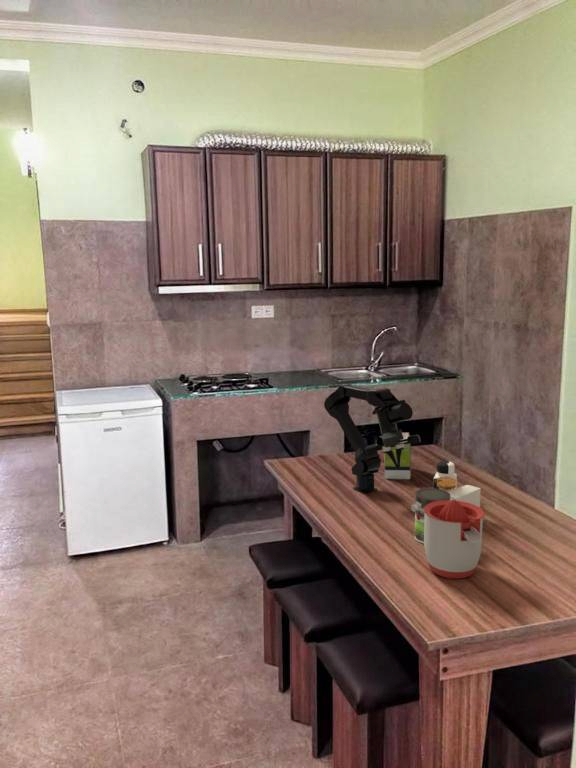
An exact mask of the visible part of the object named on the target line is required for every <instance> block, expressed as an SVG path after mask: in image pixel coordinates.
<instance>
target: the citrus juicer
mask: <svg viewBox="0 0 576 768" xmlns="http://www.w3.org/2000/svg"><path fill="white" fill-rule="evenodd" d="M424 512H425V519H424V544H423V545H424V552H425V557H426V560H427V564H428V567H429V569H430V570H431V572H433V573H434V574H435V575H438V576H440V577H443V578H447V579H449V580H452V579H464V578H467V577H470V576H472V575H473V574H474V573H475V570H476V568H477V566H478V563H479V560H480V557H481V553H482V546H483V544H482V543H483V542H482V541H483V520H484V516H485V512H484V510H483V509H482V508H481V506H480V507H478V506H476V505H474V504H471V503H467V502H462V501H456V500H454V499H453V500H443V501H435V502H431V503H429V504H427V505H426V506H425V507H424Z"/></svg>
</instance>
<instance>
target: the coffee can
mask: <svg viewBox="0 0 576 768" xmlns="http://www.w3.org/2000/svg"><path fill="white" fill-rule="evenodd" d="M414 494H415V495H414V496H415V499H414V501H415V503H414V504H415V512H414V536H413V537H414V538H413V539H414V540H416V542H418V543H419V544H423V545H424V519H425V512H424V507H425V506H426V505H427V504H429V503H431V502H435V501H443V500H450V497H451V495H450V493H448V492H447V491H444V490H441V489H435V488H433V487H428V488H427V487H426V488H421V489H418V490H416V491H415V492H414Z"/></svg>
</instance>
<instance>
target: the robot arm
mask: <svg viewBox="0 0 576 768" xmlns="http://www.w3.org/2000/svg"><path fill="white" fill-rule="evenodd" d="M352 398H353V399H357V400H363V401H365V402H367V404H369V405H370V406H373V407H374V409H373V410H372V415H376V416H377V422H378V425H379V429H380V434H381V441H382V444H377V443H375V444H369V445H367V443H366V441H365V440H364V438H363V436H362V434H361V431H359V429H358V427H357V426H356V424H355V422H354V420H353V418H352V417H351V415H350V405H349V403H350V402H351V400H352ZM323 407H324V409H325V410H326V412H327V414H329V416H330V417H332V418H333V419H335V420H336V421H337V423H338V424H339V426H340V427H341V429H342V431H343V433H344V434H345V437H346V439H347V440H348V442H349V444H350V446H351V448H352V450H353V451H354V462H355V464H354V465H353V466H352V467H351V473H352V474H351V475H354V476H356V486H353V487H352V489H353V490H355V491H358V492H359V493H362V494H367V493H371V492H375V491H378V488H376V487H375V474H376V473H377V474H378V473H379V471H380V467H381V465H382V464H381V463H382V460H381V458H380V457H381V455H380V454H379V453H378V451H381V450H382V451H383V454H384V453H387V454H388V456H389V457H390V458H391V459H392V461H393V463H394V464H395V466H396V468H397V469H400V462H401V453H402V449H405V447H404V444H409V443H410V444H411V445H414V444H419V443H421V437H420V435H418V434H414V435H409V437H407V438H408V439H404V440H403V434H402V433H403V431H402V429H398V425H397V423H400V422H404V421H409V420H410V419H411V418H412V417H413V408H412V407H411V405H410V404H409V403H407V401H406V400H405V399H402V400H399V399H398V398H397V397H396V396H395V395H394V394H393V393H392V392H391V389H390V388H388V387H386V388H384V387H383V388H367V387H363V386H358V385H352V384H350V383H348V384H341V385H340V386H338V387H337V389H336V390H334V391H333V392H332V393H330V394H329V395H328V396H327V397H326V398H325V400H324V403H323ZM391 447H397V449H396V455H397V461H396V458H395V455H394V453H393V450H391ZM397 463H398V464H397Z"/></svg>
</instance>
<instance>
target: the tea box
mask: <svg viewBox="0 0 576 768" xmlns="http://www.w3.org/2000/svg"><path fill="white" fill-rule="evenodd" d="M402 434H403V440H404V439H408V438H407V437H409V436H410V432H402ZM411 445H412V444H410V443H409V444H404V447H405V449H402V453H401V462H400V469H397V468H396V466H395V464H394V463H393V461H392V459H391V458H390V457H389V456H388V454H387V453H383V454H384V455H383V456H384V460H383V461H384V466H383V467H384V479H386V480H410V479H411V472H412V471H411V469H412V467H411V464H412V463H411V462H412V461H411V460H412V458H411V457H412V456H411V454H412V453H411V451H412V450H411ZM396 449H397V447H391V450H393V453H394V455H395V458H396V461H397V455H396ZM397 464H398V463H397Z"/></svg>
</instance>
